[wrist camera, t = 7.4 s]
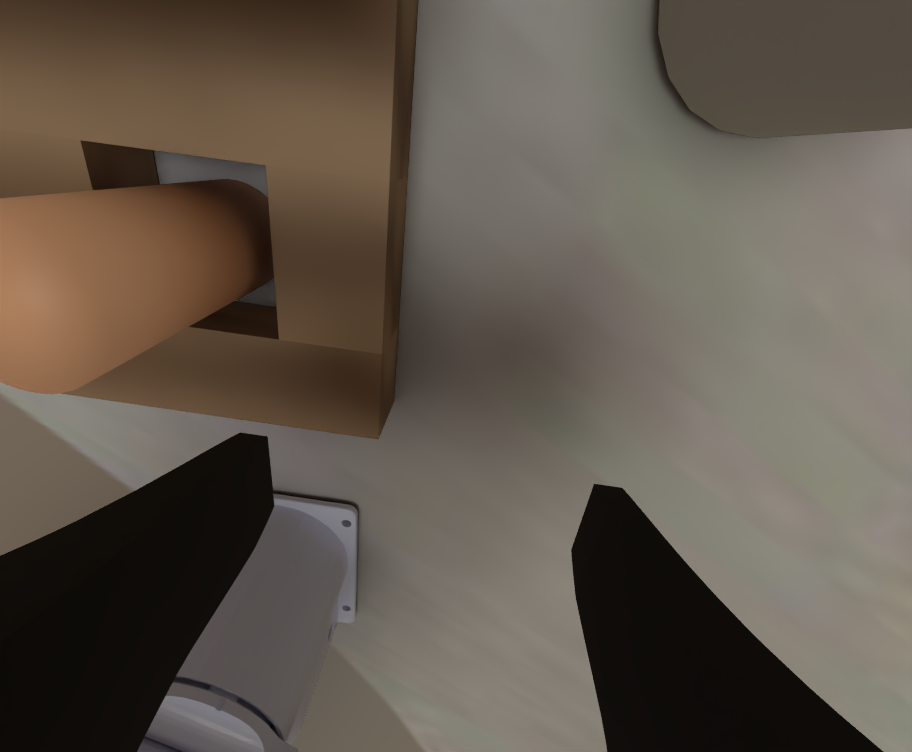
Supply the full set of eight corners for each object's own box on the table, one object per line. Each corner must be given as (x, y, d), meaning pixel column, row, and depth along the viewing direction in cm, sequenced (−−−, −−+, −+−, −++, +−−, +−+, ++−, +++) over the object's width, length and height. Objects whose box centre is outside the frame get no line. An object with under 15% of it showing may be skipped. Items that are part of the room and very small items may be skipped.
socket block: (393, 400, 20) (311, 603, 11) (114, 360, 20) (-194, 527, 11) (423, -90, 12) (234, -753, 3) (-25, -147, 12) (-1345, -915, 3)
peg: (287, 295, 18) (118, 410, 10) (191, 274, 18) (-60, 372, 10) (289, 192, 16) (82, 229, 8) (182, 168, 16) (-138, 180, 8)
